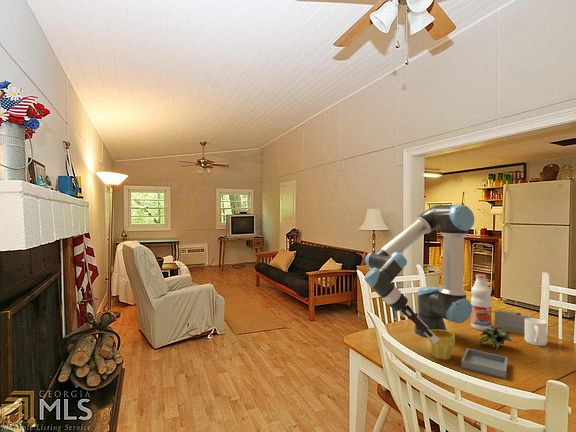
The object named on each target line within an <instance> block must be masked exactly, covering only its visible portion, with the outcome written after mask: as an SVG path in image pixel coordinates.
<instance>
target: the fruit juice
mask: <svg viewBox="0 0 576 432" xmlns="http://www.w3.org/2000/svg"><path fill="white" fill-rule="evenodd" d="M470 292H471V298H470V303H471V305H472V313H471V315H470V326H471V328H472V329H475V330H479V331H482V330H483V331H486V330H485V328H487V329H489V328H492V300H491V295H492V290H491V289H490V287H489V285H488V283H487V275H486V274H483V273H481V274H480V273H476V274H475V282H474V284H473V286H472V287H471V289H470Z"/></svg>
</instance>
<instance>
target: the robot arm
mask: <svg viewBox="0 0 576 432" xmlns="http://www.w3.org/2000/svg"><path fill="white" fill-rule="evenodd" d="M474 224H475V216H474V213H473V211H472V210H471V209H470V207H469V206H467V205H465V204H457V203H456V204H439V205H438V204H437V205H434V206H432V207H430V208H428V209H426V210H425V211H424V212H422V213H420V214H419V215H418V216H417V217H415V219H414V222H412V223H411V224H410V225H409V226H407V227H406V228H405V229H404V230H402V231H401V232H400V233H399V234H397V235H396V236H395V237H393V238H392V239H391V240H390V241H388V242H387V243H386V244H385V245H384V246H382V247H381V248H380V249H379V250H377V251H376V252H369V253H367V255H366V256H365V257H364V262H365V265H366V266H367V267H368V268H369V269H370V270H369V271H368V272H367V273H366V274H365V276H364V281H365V283H367V285H368V286H369V287H370V288H371V289H372V290H373V291H374V292H375V293H376V294H377V295H378V296H380V298H381V299H382V301H383V302H385V303H386V304H387V305H389V307H390V308H391V309H393V311H395V312H401V313H402V314H403V315H404V316H405V317H406V318H407V319H408V320H410V321H412V323H414V332H415V334H418V335H420V336H422V337H425V338H429V339H430V340H431V341H432V342H433V343H434V344H435V343H436V342H437V341H439V340H440V339H439V338H438V337H437V336H436V335H435V334H434V333H433V332H432V331H431V330H445V331H448V329H447V326H446V322H445V320H446V321H449V322H451V323H455V324H462V323H464V322H466V321H468V319H469V318H471V313H472V305H471V300H469V299H467V292H466V291H465V290H464V253H465V252H464V251H465V250H464V247H465V237H466V236H467V235H468V234H469V230H471V229H472V228H473V226H474ZM438 229H439V233H440V234H441V236H442V237H443V238H442V239H443V242H442V245H443V247H442V277H441V279H442V281H441V282H442V285H441V286H442V287H440V286H439V287H438V286H423V287H419V289H418V291H417V292H418V293H417V312H416V313H415V312H414V310H413V308H411V307H410V306H409V305H408V301H409V300H408V299H409V298H407V297H406V296H405V295H404V294H403V293H402V292H401V290H399V288H397V286H395V285H394V284H393V283H392V282H393V281H394V279H395V278H396V277H397V276H398V275H399V274H400V273H401V272H402V271H403V270H404V268H405V267H406V266H407V264H408V261H407V259H406V257H405V256H404V255H403V254H402V253H403V252H404V251H406V250H407V249H408V248H409V247H410V246H411V245H413V244H414V243H415V242H417V241H418V240H419V239H421V237H423V236H424V235H425V234H430V233H431V232H432V231H434V230H438ZM429 339H428V340H429Z"/></svg>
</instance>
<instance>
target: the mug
mask: <svg viewBox="0 0 576 432" xmlns="http://www.w3.org/2000/svg"><path fill="white" fill-rule="evenodd" d="M547 336H548V322H547V321H546V320H543V319H539V318H535V317H533V318H525V334H524V341H525V342H526V343H528V344H530V345H533V346H537V347H538V346H539V347H543V346H546V345H547V343H548V341H547V339H548V337H547Z"/></svg>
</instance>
